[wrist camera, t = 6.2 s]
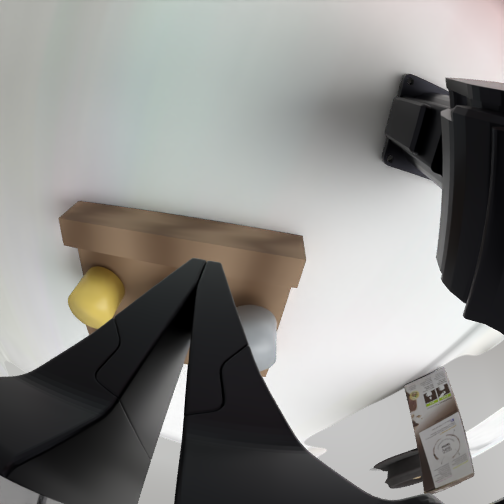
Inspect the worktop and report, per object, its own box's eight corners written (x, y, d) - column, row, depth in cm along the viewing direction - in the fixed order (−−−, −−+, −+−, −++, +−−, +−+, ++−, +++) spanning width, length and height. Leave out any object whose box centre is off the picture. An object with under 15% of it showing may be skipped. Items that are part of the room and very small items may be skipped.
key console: (302, 236, 21) (306, 260, 19) (266, 354, 29) (264, 378, 27) (78, 200, 21) (58, 218, 18) (102, 321, 29) (91, 341, 26)
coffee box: (401, 385, 33) (422, 494, 19) (444, 365, 30) (475, 473, 17) (414, 405, 36) (431, 495, 23) (450, 388, 34) (474, 477, 21)
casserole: (356, 465, 56) (358, 493, 49) (414, 438, 46) (420, 471, 39) (413, 463, 61) (416, 486, 54) (462, 437, 51) (468, 462, 44)
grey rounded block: (281, 309, 22) (281, 344, 19) (271, 341, 24) (269, 375, 21) (228, 300, 22) (222, 335, 19) (223, 334, 24) (218, 367, 21)
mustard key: (122, 271, 22) (104, 299, 20) (127, 305, 25) (113, 333, 22) (82, 262, 22) (63, 287, 20) (90, 296, 25) (74, 322, 22)
